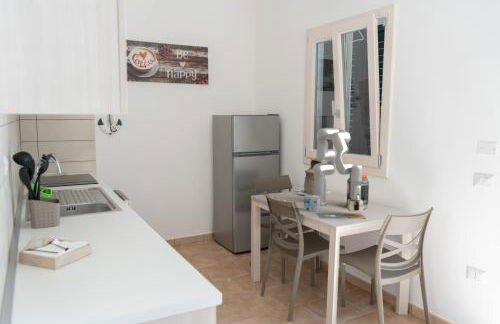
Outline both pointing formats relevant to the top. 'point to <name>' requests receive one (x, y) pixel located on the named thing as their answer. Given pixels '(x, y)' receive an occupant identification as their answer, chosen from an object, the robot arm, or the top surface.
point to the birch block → (351, 205)
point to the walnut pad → (355, 215)
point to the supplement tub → (363, 190)
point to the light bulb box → (311, 203)
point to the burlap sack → (310, 180)
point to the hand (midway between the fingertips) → (355, 208)
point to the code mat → (330, 215)
